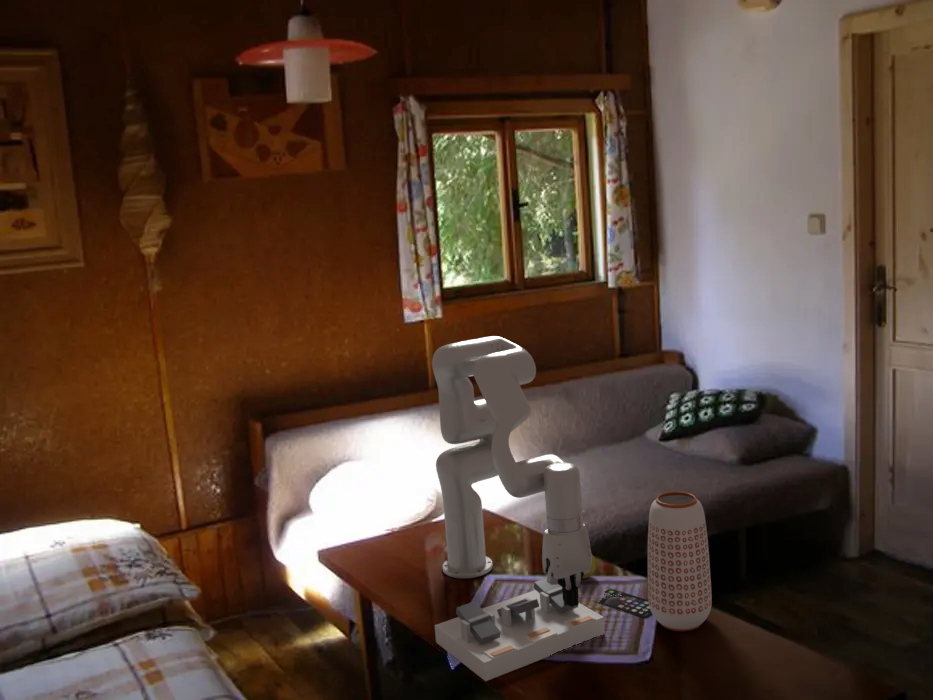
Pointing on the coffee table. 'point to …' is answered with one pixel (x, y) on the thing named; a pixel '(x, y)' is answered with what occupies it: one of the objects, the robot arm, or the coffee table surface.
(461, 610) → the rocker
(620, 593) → the smartphone
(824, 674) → the coffee table surface
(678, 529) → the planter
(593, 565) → the fruit
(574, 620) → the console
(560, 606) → the rocker
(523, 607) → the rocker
